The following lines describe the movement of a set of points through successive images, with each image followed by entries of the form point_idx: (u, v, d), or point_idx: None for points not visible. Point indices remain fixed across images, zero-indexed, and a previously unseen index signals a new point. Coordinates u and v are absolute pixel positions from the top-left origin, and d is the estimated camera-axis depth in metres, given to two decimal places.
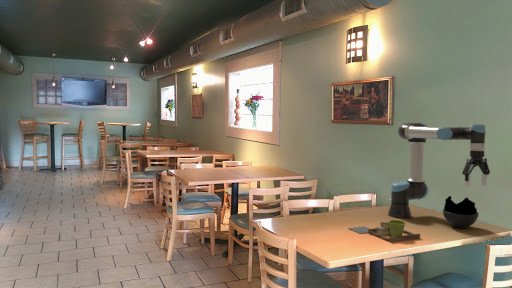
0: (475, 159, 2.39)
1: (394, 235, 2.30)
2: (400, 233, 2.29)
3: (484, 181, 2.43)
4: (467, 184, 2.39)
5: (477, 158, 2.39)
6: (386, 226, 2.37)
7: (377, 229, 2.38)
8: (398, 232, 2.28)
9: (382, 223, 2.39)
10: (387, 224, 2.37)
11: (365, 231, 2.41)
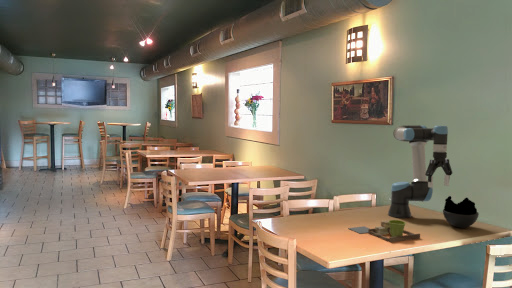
0: (438, 160, 2.41)
1: (394, 235, 2.30)
2: (400, 233, 2.29)
3: (447, 182, 2.46)
4: (430, 185, 2.41)
5: (440, 159, 2.42)
6: (386, 226, 2.37)
7: (376, 229, 2.37)
8: (398, 232, 2.28)
9: (382, 223, 2.39)
10: (387, 224, 2.38)
11: (365, 231, 2.41)
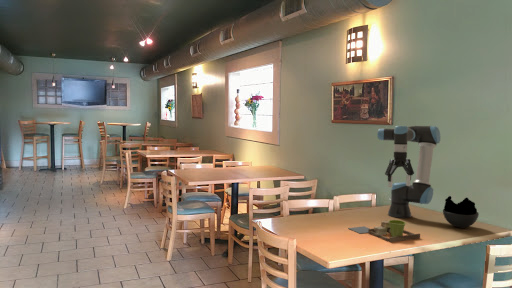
0: (398, 160, 2.43)
1: (394, 235, 2.30)
2: (400, 233, 2.29)
3: (408, 182, 2.47)
4: (390, 184, 2.43)
5: (400, 159, 2.44)
6: (386, 226, 2.37)
7: (376, 229, 2.37)
8: (398, 232, 2.28)
9: (383, 223, 2.39)
10: (387, 224, 2.37)
11: (365, 231, 2.41)
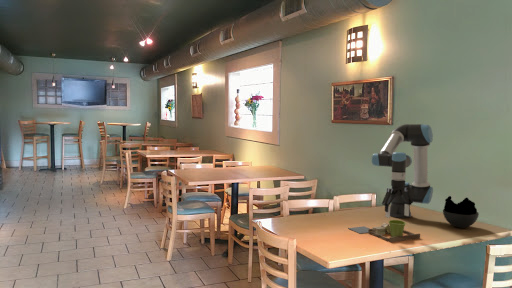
0: (395, 189, 2.28)
1: (394, 235, 2.30)
2: (400, 233, 2.29)
3: (406, 211, 2.33)
4: (387, 215, 2.28)
5: (398, 188, 2.29)
6: (386, 227, 2.37)
7: (374, 229, 2.37)
8: (398, 232, 2.28)
9: (385, 224, 2.39)
10: (388, 227, 2.38)
11: (365, 231, 2.41)
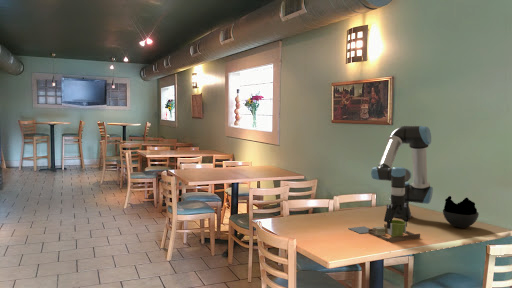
0: (395, 204, 2.29)
1: (394, 235, 2.30)
2: (400, 233, 2.29)
3: (404, 228, 2.33)
4: (389, 232, 2.29)
5: (397, 203, 2.29)
6: None
7: (374, 229, 2.37)
8: (398, 232, 2.28)
9: None
10: None
11: (365, 231, 2.41)
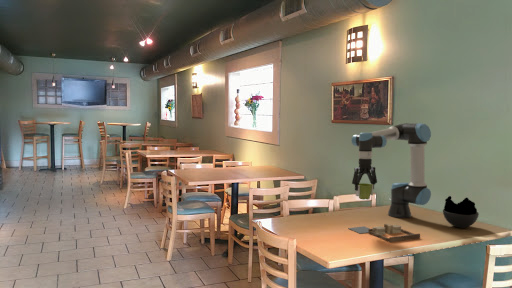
0: (362, 167, 2.40)
1: (362, 197, 2.41)
2: (367, 195, 2.40)
3: (371, 191, 2.45)
4: (357, 194, 2.41)
5: (365, 166, 2.41)
6: (389, 227, 2.38)
7: (374, 229, 2.37)
8: (365, 194, 2.40)
9: (388, 224, 2.40)
10: (391, 228, 2.38)
11: (365, 231, 2.41)
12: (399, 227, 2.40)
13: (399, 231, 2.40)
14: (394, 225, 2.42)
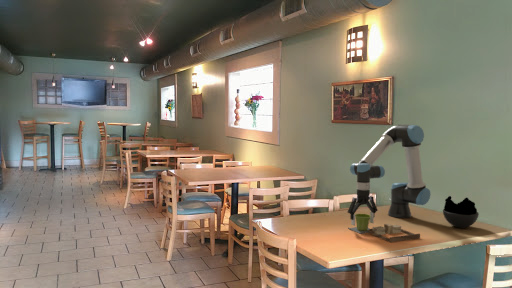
0: (360, 198, 2.42)
1: (359, 228, 2.43)
2: (365, 226, 2.42)
3: (371, 219, 2.47)
4: (352, 223, 2.42)
5: (362, 197, 2.43)
6: (389, 227, 2.38)
7: (374, 229, 2.37)
8: (363, 225, 2.42)
9: (388, 224, 2.40)
10: (391, 228, 2.38)
11: (365, 231, 2.41)
12: (399, 227, 2.40)
13: (399, 231, 2.40)
14: (394, 225, 2.42)
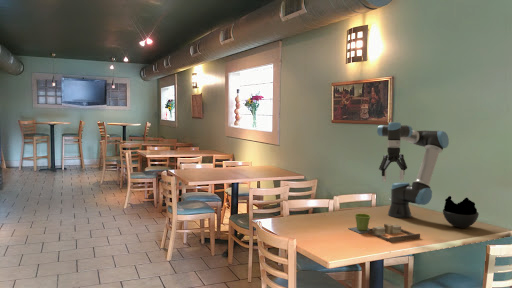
0: (391, 155, 2.51)
1: (359, 228, 2.43)
2: (365, 226, 2.42)
3: (401, 176, 2.56)
4: (384, 179, 2.51)
5: (393, 154, 2.52)
6: (389, 227, 2.38)
7: (374, 229, 2.36)
8: (363, 225, 2.42)
9: (388, 224, 2.40)
10: (391, 228, 2.38)
11: (365, 231, 2.41)
12: (399, 227, 2.40)
13: (399, 231, 2.40)
14: (394, 225, 2.42)
